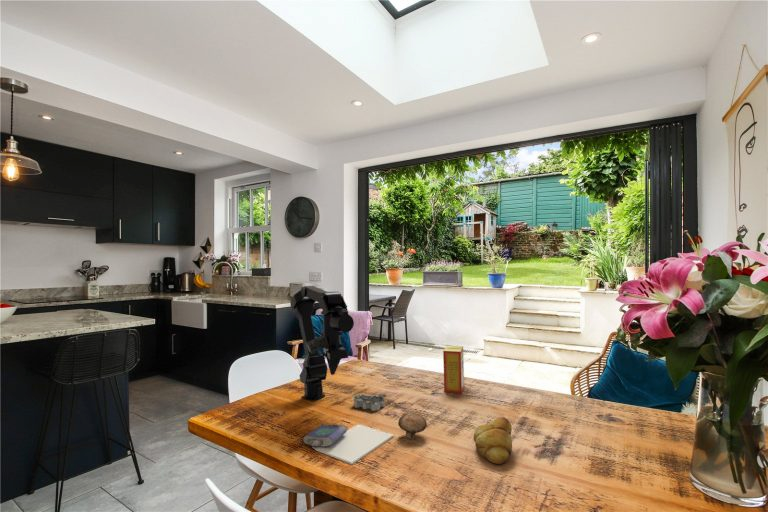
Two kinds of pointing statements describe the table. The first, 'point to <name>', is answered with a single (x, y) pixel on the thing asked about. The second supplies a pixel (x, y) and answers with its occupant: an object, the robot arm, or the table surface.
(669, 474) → the table surface
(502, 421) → the bread roll
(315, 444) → the flask
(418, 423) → the mushroom
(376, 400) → the egg carton
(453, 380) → the baking soda box
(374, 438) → the serving board
